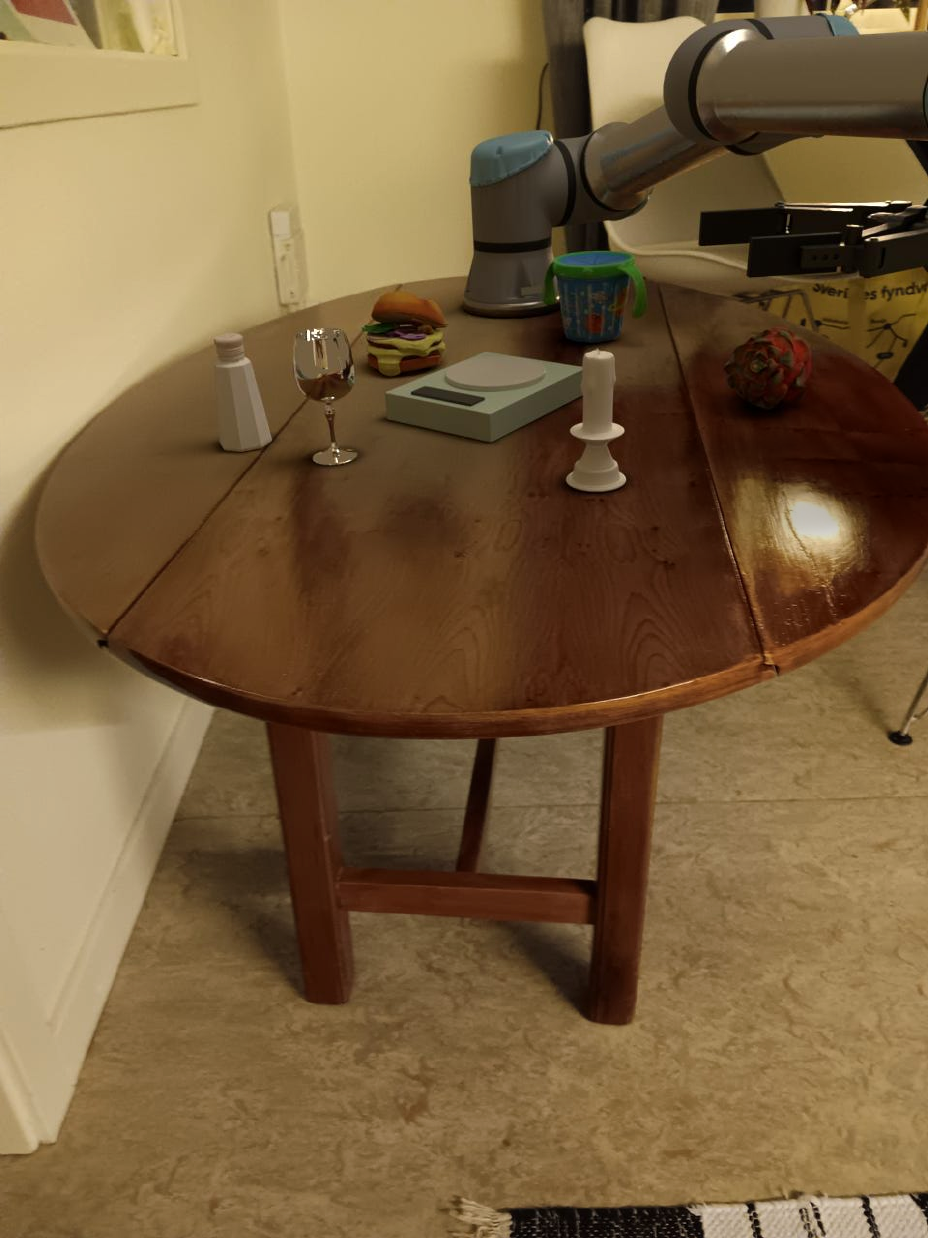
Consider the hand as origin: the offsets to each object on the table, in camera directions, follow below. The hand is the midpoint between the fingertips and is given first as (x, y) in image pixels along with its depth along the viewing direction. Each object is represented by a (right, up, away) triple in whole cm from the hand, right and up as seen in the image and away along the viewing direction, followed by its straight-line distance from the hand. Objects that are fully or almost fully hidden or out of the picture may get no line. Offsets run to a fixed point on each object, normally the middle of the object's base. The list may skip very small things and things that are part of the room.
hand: (722, 242), depth 76 cm
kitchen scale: (-18, -6, +29) cm, 35 cm away
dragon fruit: (+12, -7, +26) cm, 30 cm away
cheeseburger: (-28, +2, +45) cm, 53 cm away
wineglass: (-33, -14, +18) cm, 41 cm away
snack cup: (-3, +8, +52) cm, 53 cm away
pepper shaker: (-43, -12, +23) cm, 50 cm away
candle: (-9, -18, +10) cm, 22 cm away
